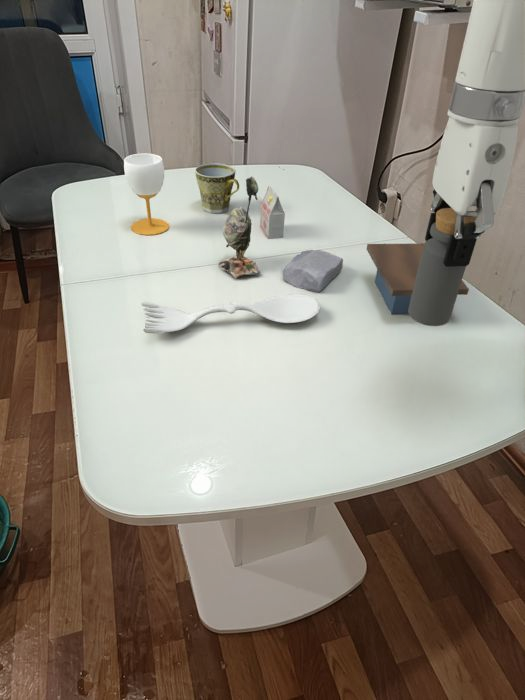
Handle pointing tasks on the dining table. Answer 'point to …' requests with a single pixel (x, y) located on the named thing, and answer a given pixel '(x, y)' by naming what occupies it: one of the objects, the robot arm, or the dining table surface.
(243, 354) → the dining table surface
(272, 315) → the spoon
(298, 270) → the stone block
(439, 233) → the bottle
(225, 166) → the ceramic cup
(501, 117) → the robot arm
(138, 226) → the cup
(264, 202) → the milk carton
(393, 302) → the box
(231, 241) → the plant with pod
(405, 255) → the board
